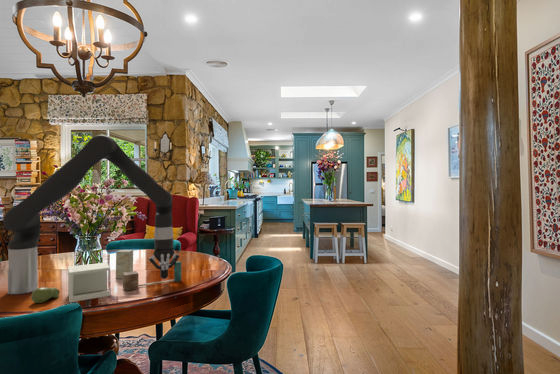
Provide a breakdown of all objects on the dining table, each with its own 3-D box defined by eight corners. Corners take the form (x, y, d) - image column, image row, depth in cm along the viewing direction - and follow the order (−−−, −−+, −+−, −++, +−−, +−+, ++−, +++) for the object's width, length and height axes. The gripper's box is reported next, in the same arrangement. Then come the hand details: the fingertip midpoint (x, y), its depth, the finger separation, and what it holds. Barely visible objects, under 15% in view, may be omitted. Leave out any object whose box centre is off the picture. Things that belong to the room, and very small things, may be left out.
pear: (28, 288, 120) (51, 285, 130) (26, 304, 119) (49, 299, 129) (42, 288, 119) (64, 285, 129) (40, 304, 118) (62, 300, 128)
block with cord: (124, 290, 134) (124, 270, 134) (122, 287, 138) (122, 267, 138) (183, 281, 147) (182, 262, 147) (179, 278, 151) (179, 260, 151)
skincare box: (115, 278, 154) (115, 251, 154) (120, 275, 158) (120, 249, 158) (128, 278, 153) (128, 251, 153) (133, 276, 158) (133, 249, 158)
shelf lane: (69, 302, 122) (69, 272, 122) (68, 294, 131) (68, 266, 131) (110, 295, 129) (110, 267, 129) (106, 288, 138) (106, 262, 138)
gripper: (149, 240, 138) (149, 282, 138) (182, 237, 145) (182, 277, 145) (145, 237, 144) (145, 278, 144) (176, 235, 152) (177, 274, 152)
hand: (164, 278), depth 145 cm, fingers closed
